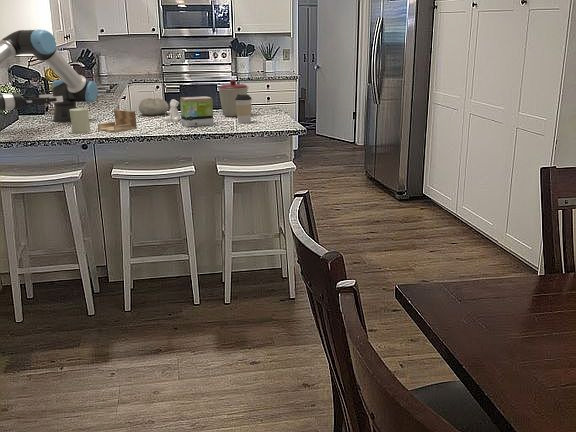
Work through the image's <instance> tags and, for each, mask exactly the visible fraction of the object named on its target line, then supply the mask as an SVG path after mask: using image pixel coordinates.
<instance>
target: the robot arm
mask: <svg viewBox="0 0 576 432" xmlns="http://www.w3.org/2000/svg"><path fill="white" fill-rule="evenodd" d="M19 55H33V56H34V57H35V58H36V59H37V60H38V61H40V62H44V63H45V64H46V65H47V66H48V67H49V68H50V69H51V70H52V72H53V73H55V75H57V77H58V78H60V79H58V80H54V81H52V83H51V90H52V93H51V94H50V93H49V94H48V93H47V94H39V93H35V94H33V95H22V94H21V93H20V92H14V93H13V92H11V93H10V92H9V93H0V112H1V111H6V112H9V111H12V110H22V109H23V108H24V105H27V106H29V105H38V104H39V105H40V104H41V105H42V104H48V105H51V104H52V103H53V104H54V110H53V111H54V112H53V117H52V118H53V122H58V123H65V122H71V117H70V111H69V110H70V109H75V108H78V107H77V103H87V104H88V103H94V102H95V101H97V98H98V95H99V88H98V85H97V83H96V82H95V81H93V80H90V81H89V80H88V79H87V78H86V77H85V76H84V75H81V74H79V73H78V72H77V71H76V70H75V69H74V68H73V67H72V65H70V63H69V62H68V61H67V59H65V58H64V57H63V55H62V54H61V53H59V52H58V50H57V41H56V39H55V36H54V35H53V34H52V33H51V32H50V31H48V30H47V29H46V30H45V29H20V30H16V31H14V32H13V31H12V32H11V33H9V34H7V36H5V37H3V38H2V39H0V66H1V65H2V64H4V63H5V62H6V61H7V60H8V59H14V58H15V57H17V56H19Z"/></svg>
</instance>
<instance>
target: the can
mask: <svg viewBox="0 0 576 432" xmlns="http://www.w3.org/2000/svg"><path fill="white" fill-rule="evenodd" d="M69 111H70V117H71V121H70V123H71V133H72V134H87V133H90V132H92V131H91V125H90V124H91V123H90V116H89V115H90V114H89V108H87V107H86V108H85V107H77V108H75V109H70V110H69Z"/></svg>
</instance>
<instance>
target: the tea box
mask: <svg viewBox="0 0 576 432" xmlns="http://www.w3.org/2000/svg"><path fill="white" fill-rule="evenodd" d="M213 101H214V100H213V97H210V96H207V95H205V96H201V95H200V96H186V97H185V96H184V97H183V96H182V97H179V105H180V121H181V123H180V124H181V125H182V126H185V127H186V128H188V127H189V128H190V127H201V126H213V125H214V107H213V106H214V105H213V103H214V102H213Z"/></svg>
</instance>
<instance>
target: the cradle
mask: <svg viewBox="0 0 576 432" xmlns="http://www.w3.org/2000/svg"><path fill="white" fill-rule="evenodd" d="M136 129H138V127H137V117H136V111H134V110H126V109H125V110H124V109H114V121H109V122H104V123H98V124H97V131H98V132H99V131H100V132H107V133H115V134H116V133H120V132H126V131H132V130H136Z"/></svg>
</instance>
